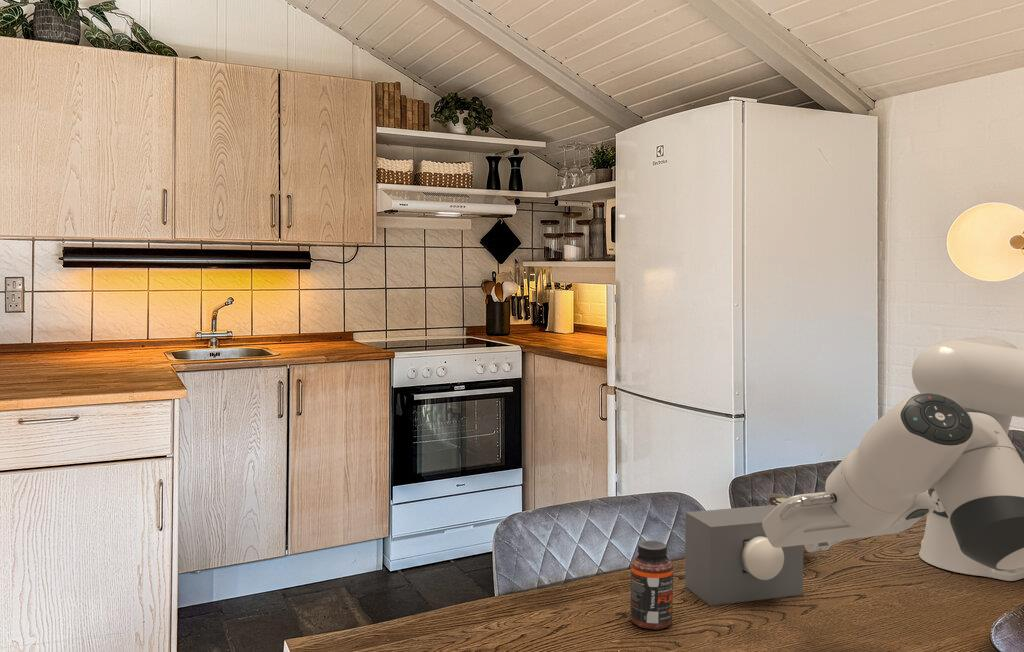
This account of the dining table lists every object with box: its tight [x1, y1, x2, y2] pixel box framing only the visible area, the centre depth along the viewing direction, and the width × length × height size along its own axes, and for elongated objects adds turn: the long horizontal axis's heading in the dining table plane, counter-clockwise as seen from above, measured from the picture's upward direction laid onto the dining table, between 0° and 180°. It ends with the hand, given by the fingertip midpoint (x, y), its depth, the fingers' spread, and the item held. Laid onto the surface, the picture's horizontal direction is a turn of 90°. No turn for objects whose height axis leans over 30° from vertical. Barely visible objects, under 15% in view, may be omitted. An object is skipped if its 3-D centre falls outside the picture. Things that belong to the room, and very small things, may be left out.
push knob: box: [742, 536, 784, 580], centre depth 121 cm, size 6×8×6 cm
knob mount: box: [684, 504, 805, 607], centre depth 124 cm, size 16×8×12 cm, turn 105°
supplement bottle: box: [630, 540, 674, 631], centre depth 112 cm, size 6×6×11 cm
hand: (814, 546), depth 106 cm, fingers closed
